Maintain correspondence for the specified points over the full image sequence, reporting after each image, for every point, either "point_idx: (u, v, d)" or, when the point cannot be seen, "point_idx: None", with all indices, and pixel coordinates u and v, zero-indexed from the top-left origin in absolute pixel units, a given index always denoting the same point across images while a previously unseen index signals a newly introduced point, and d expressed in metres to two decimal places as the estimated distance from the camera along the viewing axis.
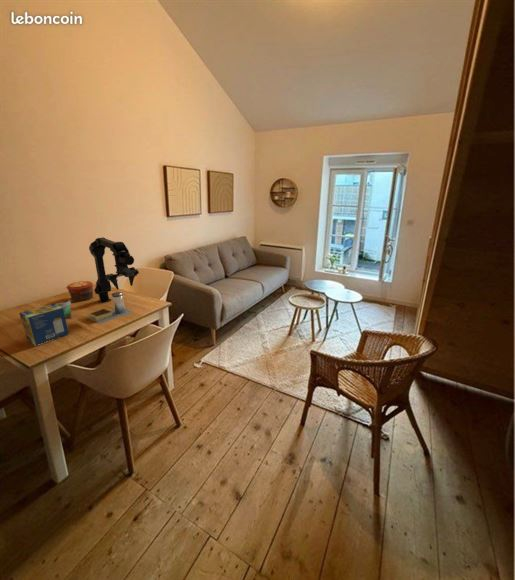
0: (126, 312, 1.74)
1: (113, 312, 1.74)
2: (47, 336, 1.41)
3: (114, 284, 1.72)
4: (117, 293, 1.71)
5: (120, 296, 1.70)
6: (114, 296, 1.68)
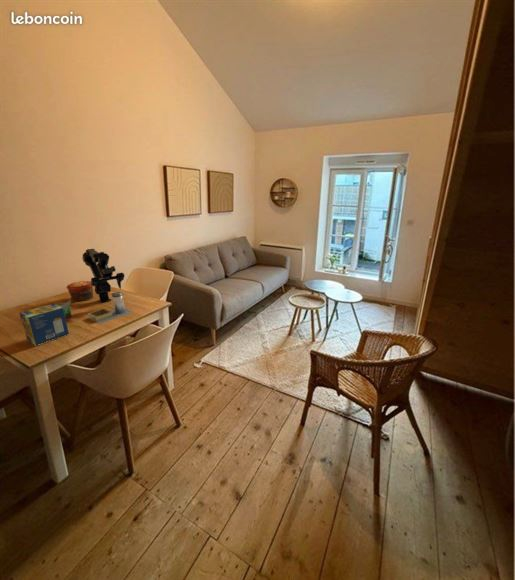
0: (126, 312, 1.74)
1: (113, 312, 1.74)
2: (47, 336, 1.41)
3: (100, 288, 1.74)
4: (117, 293, 1.71)
5: (120, 296, 1.70)
6: (114, 296, 1.68)
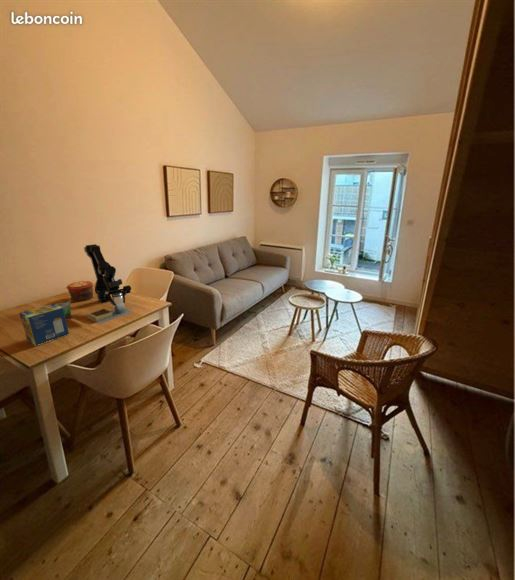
0: (126, 312, 1.74)
1: (113, 312, 1.74)
2: (47, 336, 1.41)
3: (110, 301, 1.71)
4: (117, 293, 1.71)
5: (120, 296, 1.70)
6: (114, 296, 1.69)
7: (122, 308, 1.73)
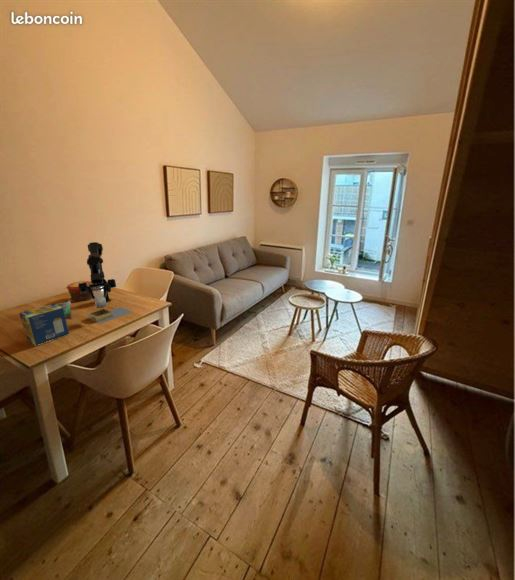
0: (126, 312, 1.74)
1: (113, 312, 1.74)
2: (47, 336, 1.41)
3: None
4: (98, 286, 1.62)
5: (99, 290, 1.61)
6: (93, 289, 1.60)
7: (102, 303, 1.63)
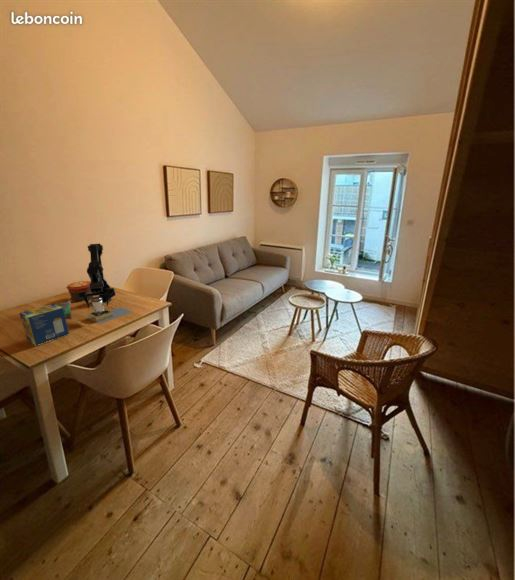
0: (126, 312, 1.74)
1: (113, 312, 1.74)
2: (47, 336, 1.41)
3: None
4: (97, 298, 1.64)
5: (98, 301, 1.62)
6: (92, 301, 1.61)
7: (101, 314, 1.64)
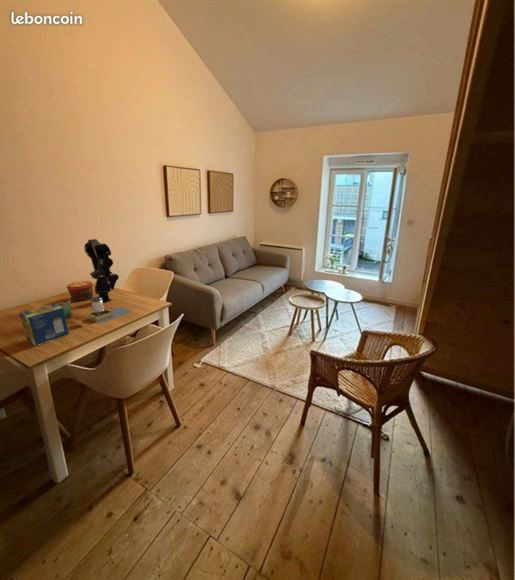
0: (126, 312, 1.74)
1: (113, 312, 1.74)
2: (47, 336, 1.41)
3: None
4: (96, 298, 1.64)
5: (98, 301, 1.62)
6: (92, 301, 1.61)
7: (101, 314, 1.64)
